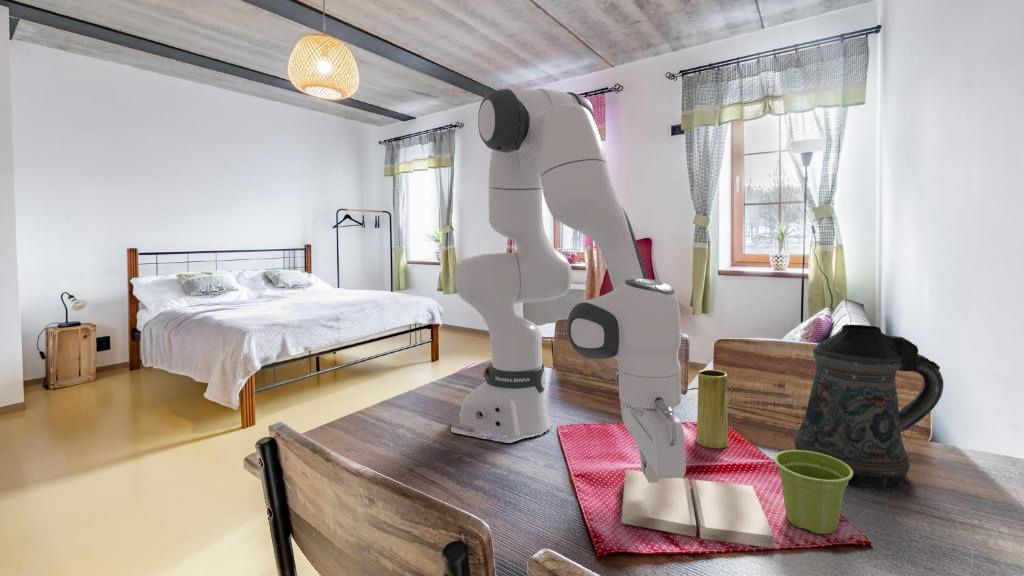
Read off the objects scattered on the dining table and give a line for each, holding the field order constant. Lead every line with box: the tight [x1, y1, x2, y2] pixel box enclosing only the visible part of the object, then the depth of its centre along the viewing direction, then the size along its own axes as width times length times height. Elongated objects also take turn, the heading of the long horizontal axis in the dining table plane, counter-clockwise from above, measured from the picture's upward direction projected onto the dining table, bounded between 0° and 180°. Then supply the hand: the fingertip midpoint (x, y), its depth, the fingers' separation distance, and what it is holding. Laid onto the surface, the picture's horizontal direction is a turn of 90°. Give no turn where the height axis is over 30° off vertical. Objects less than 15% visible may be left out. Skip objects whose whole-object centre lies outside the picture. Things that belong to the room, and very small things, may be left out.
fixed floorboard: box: [691, 478, 775, 549], centre depth 69 cm, size 9×13×2 cm
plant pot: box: [773, 449, 853, 535], centre depth 67 cm, size 9×9×9 cm
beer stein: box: [793, 324, 944, 490], centre depth 81 cm, size 16×19×25 cm
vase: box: [695, 369, 730, 450], centre depth 93 cm, size 6×6×14 cm
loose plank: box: [620, 469, 698, 538], centre depth 72 cm, size 10×13×2 cm
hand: (650, 476), depth 71 cm, fingers closed
